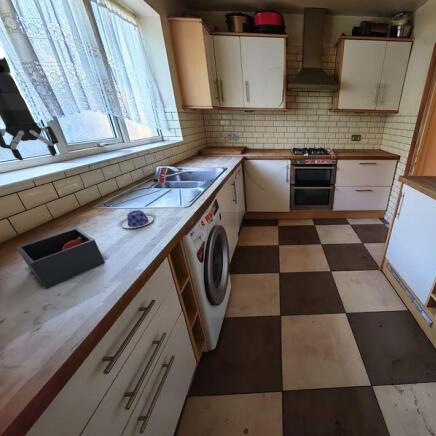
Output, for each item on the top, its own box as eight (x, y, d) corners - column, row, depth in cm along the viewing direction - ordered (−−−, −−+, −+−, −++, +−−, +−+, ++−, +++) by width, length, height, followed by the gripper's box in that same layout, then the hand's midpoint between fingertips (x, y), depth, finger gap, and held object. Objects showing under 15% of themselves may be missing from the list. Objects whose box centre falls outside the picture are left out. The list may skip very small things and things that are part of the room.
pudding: (127, 232, 94) (123, 221, 92) (118, 223, 101) (114, 213, 98) (158, 222, 102) (155, 211, 100) (147, 215, 109) (144, 205, 107)
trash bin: (46, 289, 65) (29, 263, 61) (31, 271, 72) (16, 247, 68) (105, 262, 76) (94, 239, 72) (87, 249, 83) (77, 227, 79)
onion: (83, 263, 77) (94, 240, 80) (75, 261, 72) (87, 237, 75) (62, 259, 75) (74, 236, 78) (52, 257, 70) (66, 233, 73)
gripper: (39, 108, 83) (60, 153, 90) (-23, 108, 72) (6, 160, 79) (46, 108, 79) (66, 155, 86) (-18, 109, 68) (11, 163, 75)
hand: (38, 157), depth 83 cm, fingers open, 8 cm apart
